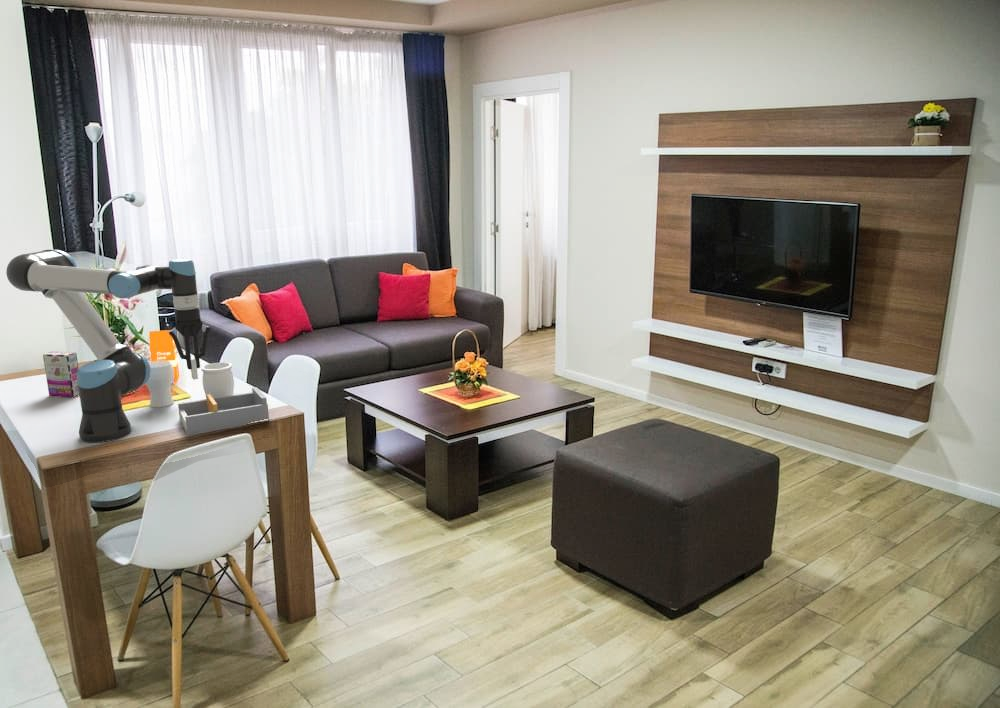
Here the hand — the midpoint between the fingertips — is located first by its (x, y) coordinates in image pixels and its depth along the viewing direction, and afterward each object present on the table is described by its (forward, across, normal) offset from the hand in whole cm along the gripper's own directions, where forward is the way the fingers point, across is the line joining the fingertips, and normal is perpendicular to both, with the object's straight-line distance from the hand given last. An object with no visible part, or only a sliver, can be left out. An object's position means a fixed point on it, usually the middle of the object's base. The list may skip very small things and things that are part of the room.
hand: (195, 378), depth 267 cm
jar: (+16, +10, +17) cm, 26 cm away
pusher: (+15, +6, 0) cm, 16 cm away
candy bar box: (+16, -38, +62) cm, 75 cm away
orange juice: (+16, -2, +65) cm, 67 cm away
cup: (+16, -8, +31) cm, 36 cm away
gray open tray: (+16, +8, 0) cm, 18 cm away
